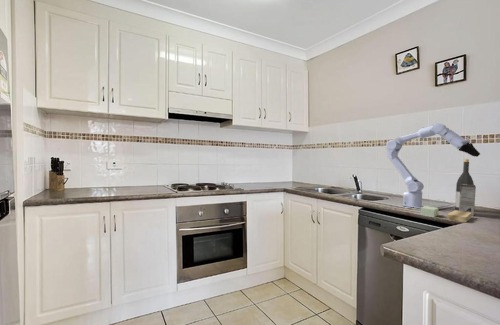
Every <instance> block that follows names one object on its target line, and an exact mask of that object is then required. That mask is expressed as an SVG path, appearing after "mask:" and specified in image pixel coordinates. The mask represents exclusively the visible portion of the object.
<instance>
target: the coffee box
mask: <svg viewBox="0 0 500 325" xmlns="http://www.w3.org/2000/svg"><path fill="white" fill-rule="evenodd" d="M476 189H477V188H476V185H475V184H474V185H470V184H460V196H459V210H458V211H463V212H470V213H472V217H475V204H476Z"/></svg>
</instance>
